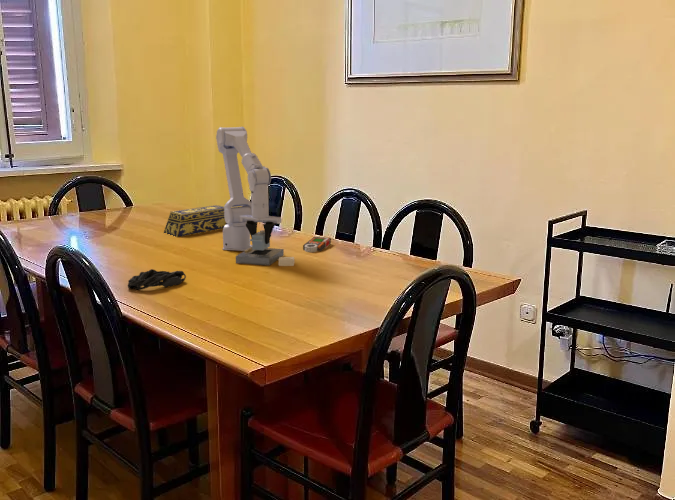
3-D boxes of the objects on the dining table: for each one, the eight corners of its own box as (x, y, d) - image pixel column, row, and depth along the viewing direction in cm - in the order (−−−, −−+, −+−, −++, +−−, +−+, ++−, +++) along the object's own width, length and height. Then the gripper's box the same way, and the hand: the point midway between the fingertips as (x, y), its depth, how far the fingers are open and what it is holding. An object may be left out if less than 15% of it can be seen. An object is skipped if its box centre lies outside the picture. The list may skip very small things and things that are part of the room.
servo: (250, 250, 224) (249, 233, 223) (260, 244, 233) (260, 228, 231) (261, 251, 223) (261, 234, 222) (271, 245, 232) (271, 229, 230)
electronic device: (300, 246, 239) (314, 235, 252) (301, 253, 239) (314, 242, 253) (318, 247, 237) (331, 236, 250) (318, 255, 237) (331, 244, 251)
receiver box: (278, 266, 220) (278, 259, 219) (279, 263, 223) (279, 257, 223) (293, 266, 220) (293, 259, 219) (294, 263, 223) (294, 256, 223)
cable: (138, 295, 189) (137, 280, 188) (116, 285, 199) (115, 271, 198) (190, 283, 200) (190, 270, 199) (167, 274, 210) (166, 261, 209)
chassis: (235, 263, 223) (235, 254, 222) (251, 253, 236) (251, 245, 235) (269, 265, 220) (269, 256, 219) (283, 255, 233) (283, 247, 232)
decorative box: (237, 227, 283) (236, 206, 281) (176, 238, 262) (175, 215, 260) (222, 224, 290) (221, 203, 288) (162, 234, 269) (160, 212, 267)
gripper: (235, 204, 222) (236, 244, 226) (275, 206, 219) (276, 246, 222) (243, 201, 229) (244, 239, 232) (283, 203, 225) (283, 242, 228)
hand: (261, 243), depth 227 cm, fingers closed on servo, 4 cm apart
